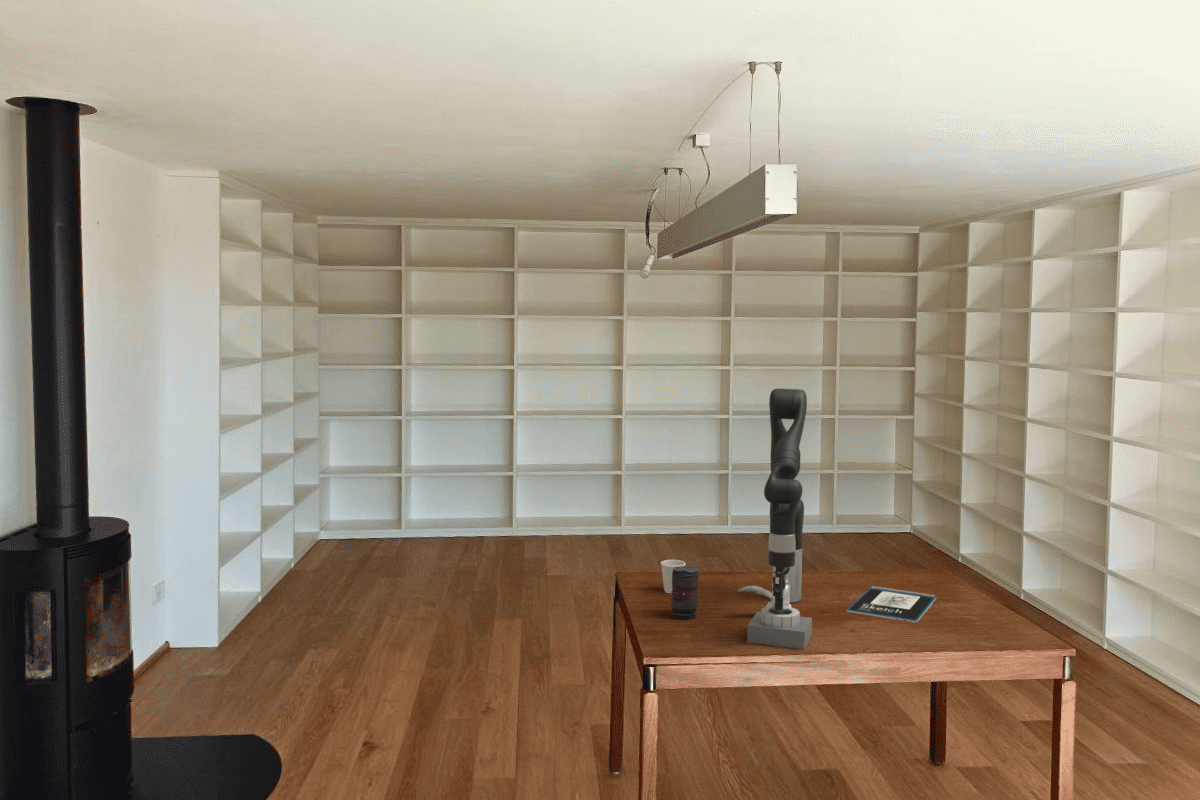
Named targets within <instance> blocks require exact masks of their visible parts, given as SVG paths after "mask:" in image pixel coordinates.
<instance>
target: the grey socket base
mask: <svg viewBox="0 0 1200 800" xmlns="http://www.w3.org/2000/svg"><path fill="white" fill-rule="evenodd" d="M791 607H792V606H791ZM791 607H789V614H788V615H779V614H773V613H772V606H768V607H766V606H764V607H762V609H760V611H756V612H755V614H754V616H753V617H752V618H751V620H750V621H749V623H748V624H747V630H746V631H747V633H746V636H747V638H746V643H747V642H751V643H750V644H755V643H760V644H759V645H763V644H766V645H765V646H771V645H773V647H779V646H780V648H787V647H789V648H788V649H795V648H797V649H798V650H803V649H804V650H805V649H806V646H807V645H808V643H809V640H810V639H811V637H812V635H813V634H812V633H813V632H812V631H813V617H807V616H801V614H800V613H801V612H800V611H799V610H798V609H797V608H795V607H792V608H791ZM797 649H796V650H797Z"/></svg>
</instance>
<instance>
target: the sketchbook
mask: <svg viewBox="0 0 1200 800" xmlns="http://www.w3.org/2000/svg"><path fill="white" fill-rule="evenodd" d="M936 600H937V595H936V596H935V594H931V595H930V593H929V594H927V593H924V592H923V593H922V592H920V593H919V592H914V591H909V590H904V589H903V590H900V589H899V590H898V589H895V588H894V589H893V588H888V587H880V586H875V585H874V586H871V587H869V588H868V589H867V590H866V591H865V592H864V593H862V595H861V596H860V597H858V598H857V599H856V600H855V601H854V602H853V603H852V604H851V605H850V606H849V607H848V608H846V612H847V613H851V614H852V613H854V614H859V615H866V616H871V617H879V618H883V619H884V618H885V619H892V620H896V619H898V621H903V620H906V621H905V622H909V621H911V622H910V623H915V622H916V623H918V621H919V620H920V619H922V617H923V616H924V615H925V613H926V612H927V611H928V610H929V609H930V608H931V607H932V605H933V604H934V603H935V602H936ZM934 601H935V602H934ZM933 602H934V603H933Z"/></svg>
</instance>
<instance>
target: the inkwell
mask: <svg viewBox="0 0 1200 800" xmlns="http://www.w3.org/2000/svg"><path fill="white" fill-rule="evenodd" d="M736 592H737V593H738V592H750V593H754V594H757V595H762V596H764V597H766V598H769V602H768V603H767V604H766V606H765V607H768V606H772V591H770V590H768V589H765V588H763V587H762V586H758V585H747V586H743V587H741V588H738V590H737V591H736ZM789 607H791V608H793V607H792V605H791V603H790V605H789Z"/></svg>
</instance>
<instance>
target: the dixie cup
mask: <svg viewBox="0 0 1200 800" xmlns="http://www.w3.org/2000/svg"><path fill="white" fill-rule="evenodd" d="M660 565H661V573H662V574H661V575H662V583H663V590H664V591H665V592H666V593H665V592H664V593H665V594H667V593H671V592H672V571H673V568H674V567H677V566H687V565H686V562H685V561H683V560H679V559H665V560H662V561H661V562H660Z"/></svg>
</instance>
